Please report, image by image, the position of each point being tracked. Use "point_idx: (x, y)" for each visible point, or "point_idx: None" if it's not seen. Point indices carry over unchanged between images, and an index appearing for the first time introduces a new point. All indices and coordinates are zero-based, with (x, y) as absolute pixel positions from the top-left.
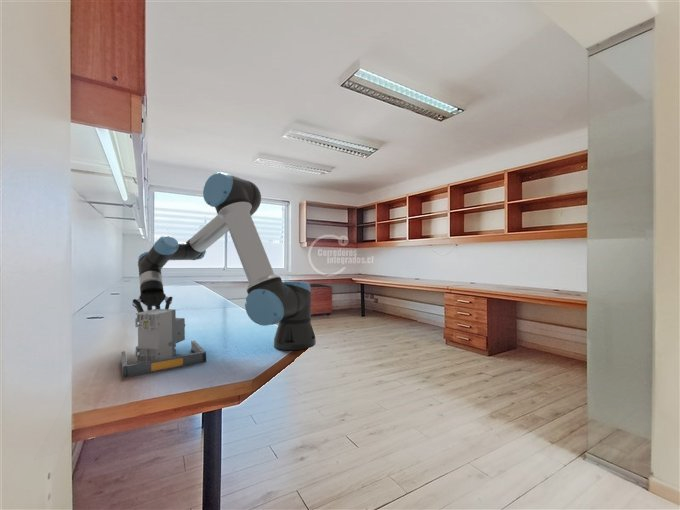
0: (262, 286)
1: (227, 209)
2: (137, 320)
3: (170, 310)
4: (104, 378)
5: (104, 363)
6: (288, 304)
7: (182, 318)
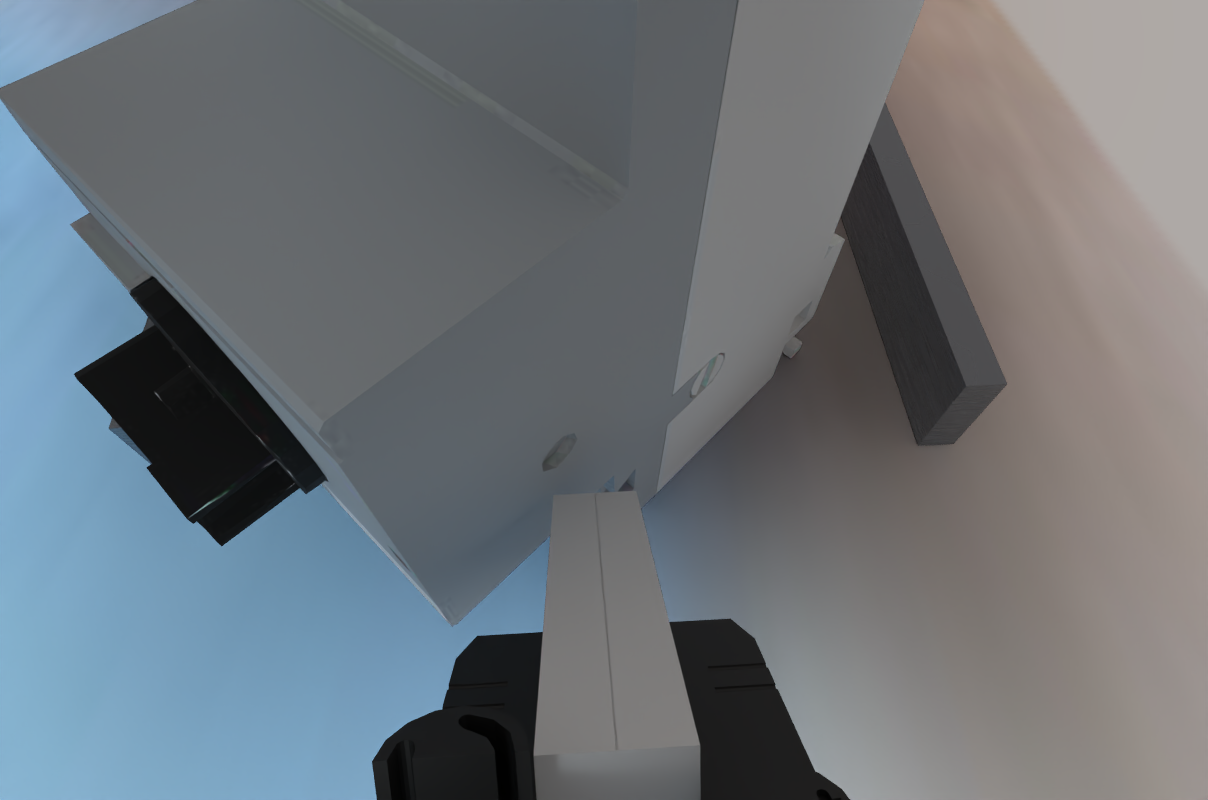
0: None
1: None
2: None
3: None
4: (940, 124)
5: (1116, 472)
6: None
7: (45, 88)
